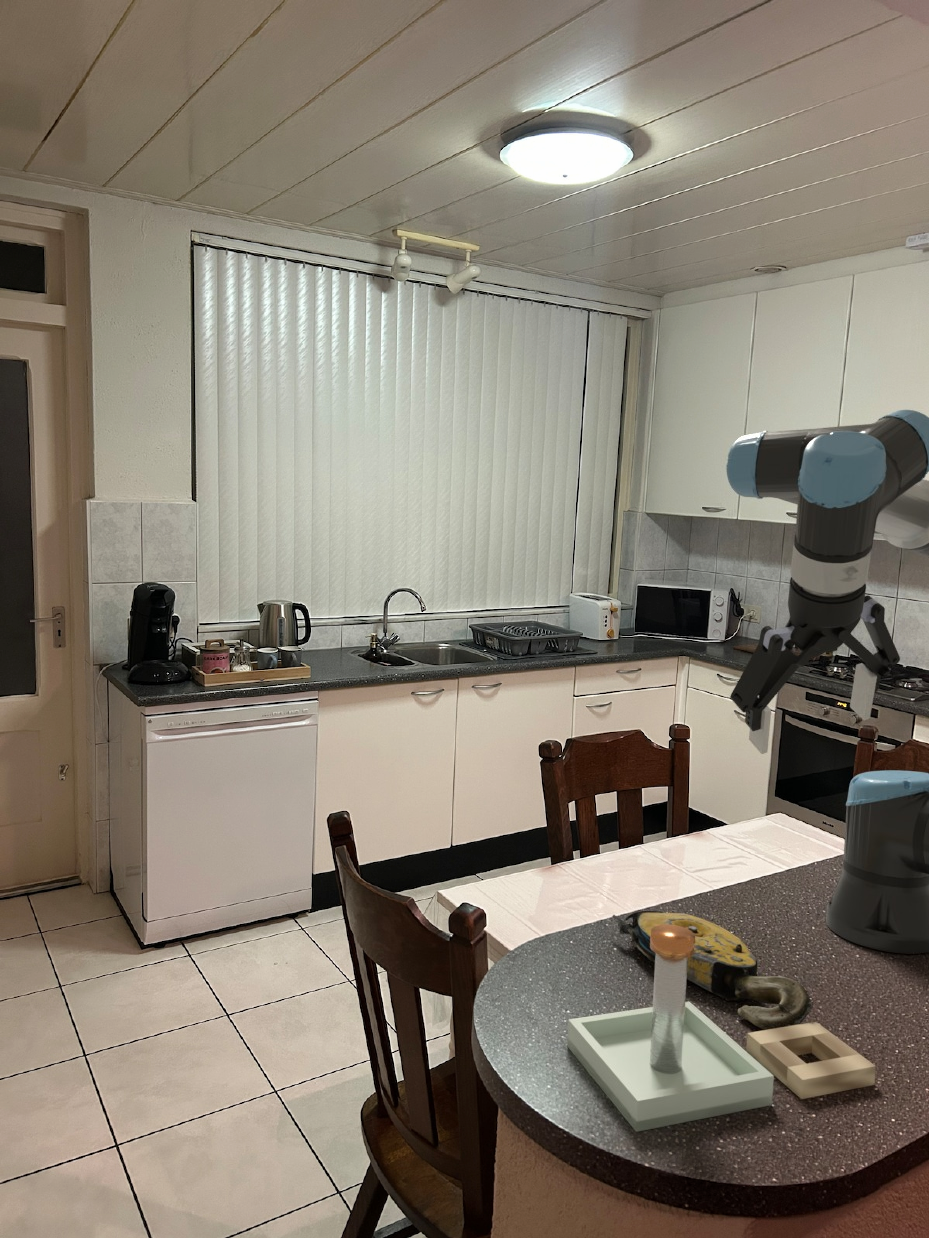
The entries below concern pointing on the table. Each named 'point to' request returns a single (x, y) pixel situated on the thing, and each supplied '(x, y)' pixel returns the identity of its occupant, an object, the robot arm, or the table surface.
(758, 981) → the pulley block
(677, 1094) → the pale green tray
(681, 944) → the steel pin
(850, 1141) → the table surface
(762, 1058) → the bracket
